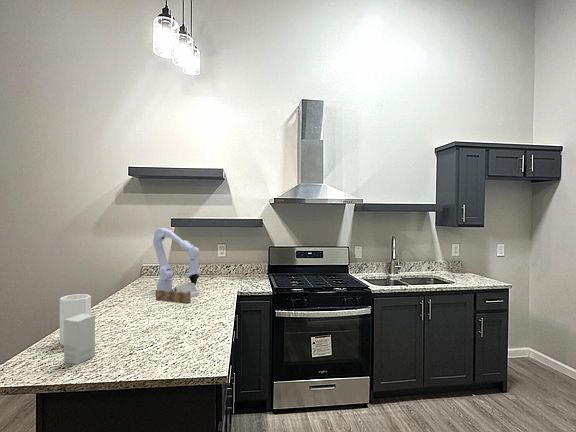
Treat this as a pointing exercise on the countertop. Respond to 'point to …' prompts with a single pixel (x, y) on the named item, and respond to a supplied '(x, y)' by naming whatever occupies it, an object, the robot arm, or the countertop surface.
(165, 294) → the walnut bracket
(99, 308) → the countertop surface
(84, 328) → the skincare box
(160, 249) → the robot arm
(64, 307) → the cup
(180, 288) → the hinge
